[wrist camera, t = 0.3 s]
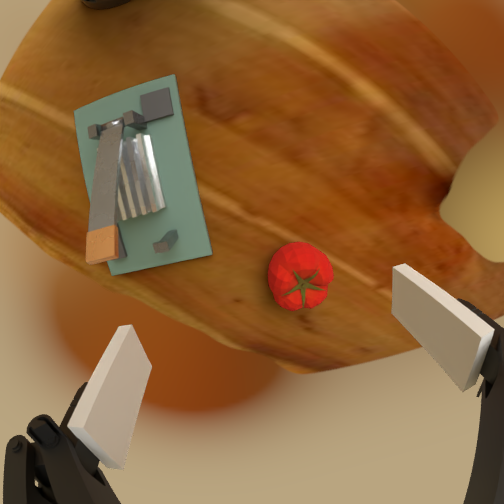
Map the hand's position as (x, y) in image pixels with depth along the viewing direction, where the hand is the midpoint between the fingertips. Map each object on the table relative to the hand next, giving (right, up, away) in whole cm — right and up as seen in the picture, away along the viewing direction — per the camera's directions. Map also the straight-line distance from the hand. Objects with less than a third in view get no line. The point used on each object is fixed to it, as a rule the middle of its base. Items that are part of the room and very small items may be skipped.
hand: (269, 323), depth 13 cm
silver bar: (-16, +13, +23) cm, 31 cm away
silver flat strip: (-16, +11, +14) cm, 24 cm away
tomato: (+5, +1, +30) cm, 30 cm away
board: (-17, +14, +24) cm, 32 cm away
